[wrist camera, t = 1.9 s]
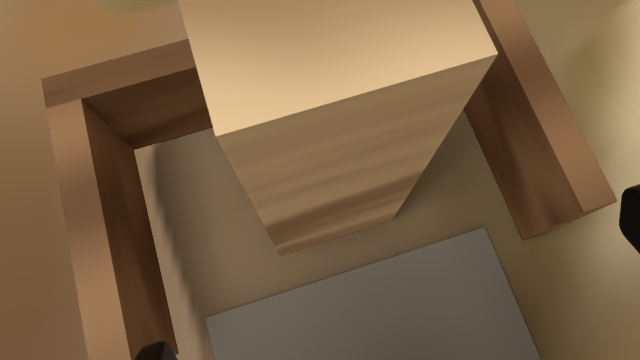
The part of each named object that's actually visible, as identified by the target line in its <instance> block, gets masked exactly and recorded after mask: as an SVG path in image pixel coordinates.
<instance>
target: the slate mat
mask: <svg viewBox="0 0 640 360" xmlns="http://www.w3.org/2000/svg"><path fill="white" fill-rule="evenodd" d="M205 320H206V325H207V329H208V333H209V337H210V341H211V345H212V349H213V354H214V358H215V360H541V358H540V355H539V353H538V351H537V348H536V346H535V344H534V341H533V339H532V337H531V334H530V332H529V330H528V327H527V325H526V323H525V320H524V318H523V316H522V313H521V311H520V309H519V306H518V304H517V302H516V299H515V297H514V295H513V292H512V290H511V288H510V285H509V283H508V281H507V278H506V276H505V274H504V271H503V269H502V267H501V264H500V262H499V260H498V257H497V255H496V253H495V250H494V248H493V246H492V243H491V241H490V239H489V236H488V234H487V232H486V229H485V227H483V228H480V229H477V230H474V231H471V232H468V233H464V234H461V235H458V236H455V237H452V238H449V239H446V240H443V241H440V242H437V243H434V244H431V245H428V246H425V247H421V248H418V249H415V250H412V251H409V252H406V253H403V254H400V255H397V256H394V257H391V258H388V259H385V260H382V261H379V262H375V263H372V264H369V265H366V266H363V267H360V268H357V269H354V270H351V271H348V272H345V273H342V274H339V275H336V276H332V277H329V278H326V279H323V280H320V281H317V282H314V283H311V284H308V285H305V286H302V287H299V288H296V289H293V290H290V291H286V292H283V293H280V294H277V295H274V296H271V297H268V298H265V299H262V300H259V301H256V302H253V303H250V304H247V305H243V306H240V307H237V308H234V309H231V310H228V311H225V312H222V313H219V314H216V315H213V316H210V317H207V318H205Z"/></svg>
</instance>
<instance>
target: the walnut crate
mask: <svg viewBox="0 0 640 360" xmlns="http://www.w3.org/2000/svg"><path fill="white" fill-rule="evenodd" d="M472 1H473V3H474V5H475V7H476V9H477V11H478V13H479V15H480V17H481V19H482V22H483V24H484V26H485V28H486V30H487V32H488V34H489V36H490V38H491V40H492V42H493V44H494V46H495V48H496V50H497V52H498V55H497V57H496V58H495V60H494V61H493V63H492V64H491V66H490V68H489V69H488V71H487V72H486V74H485V75H484V77H483V78H482V80H481V82H480V83H479V85H478V86H477V88H476V89H475V91H474V93H473V94H472V96H471V97H470V99H469V100H468V102H467V104H466V105H465V107H464V110H465V112H466V114H467V116H468V119H469V121H470V123H471V125H472V128H473V130H474V132H475V134H476V136H477V139H478V141H479V143H480V145H481V148H482V150H483V152H484V154H485V157H486V159H487V161H488V163H489V165H490V168H491V170H492V172H493V174H494V177H495V179H496V181H497V183H498V186H499V188H500V190H501V192H502V194H503V197H504V199H505V201H506V203H507V206H508V208H509V210H510V212H511V215H512V217H513V219H514V221H515V223H516V226H517V228H518V230H519V232H520V235H521V237H522V239H523V240H524V239H527V238H530V237H533V236H536V235H539V234H542V233H545V232H548V231H551V230H553V229H555V228H558V227H560V226H562V225H564V224H567V223H569V222H571V221H573V220H576V219H578V218H580V217H583V216H585V215H587V214H589V213H592V212H594V211H596V210H599V209H601V208H603V207H605V206H608V205H610V204H612V203H614V202H617V199H616V197H615V195H614V193H613V191H612V189H611V187H610V186H609V184H608V182H607V180H606V178H605V176H604V174H603V172H602V170H601V168H600V166H599V164H598V162H597V160H596V159H595V157H594V155H593V153H592V151H591V149H590V147H589V145H588V143H587V141H586V139H585V137H584V135H583V133H582V132H581V130H580V128H579V126H578V124H577V122H576V120H575V118H574V116H573V114H572V112H571V110H570V108H569V107H568V105H567V103H566V101H565V99H564V97H563V95H562V93H561V91H560V89H559V87H558V85H557V83H556V81H555V80H554V78H553V76H552V74H551V72H550V70H549V68H548V66H547V64H546V62H545V60H544V58H543V56H542V54H541V53H540V51H539V49H538V47H537V45H536V43H535V41H534V39H533V37H532V35H531V33H530V31H529V29H528V27H527V26H526V24H525V22H524V20H523V18H522V16H521V14H520V12H519V10H518V8H517V6H516V4H515V2H514V0H472ZM41 80H42V86H43V92H44V98H45V104H46V110H47V116H48V122H49V127H50V134H51V139H52V146H53V151H54V158H55V164H56V169H57V176H58V181H59V187H60V193H61V199H62V205H63V211H64V217H65V223H66V229H67V235H68V241H69V247H70V253H71V259H72V264H73V271H74V277H75V283H76V288H77V294H78V300H79V306H80V312H81V318H82V324H83V330H84V336H85V342H86V348H87V354H88V360H134V359H135V357H136V356H137V354H138V353H139V351H140V350H141V349H142V348H143V347H144V346H146V345H150V344H153V343H156V342H159V341H162V340H163V341H166V342H167V343H168V344H169V345H170V347H171V348H172V350H173V352H174V354H175V355H176V354H178V349H177V344H176V340H175V335H174V331H173V326H172V321H171V317H170V313H169V308H168V303H167V299H166V294H165V290H164V285H163V281H162V276H161V272H160V268H159V262H158V258H157V253H156V249H155V244H154V240H153V235H152V231H151V226H150V222H149V217H148V213H147V208H146V204H145V199H144V194H143V190H142V185H141V181H140V177H139V172H138V167H137V163H136V159H135V154H134V150H135V149H139V148H142V147H145V146H149V145H152V144H156V143H159V142H163V141H166V140H170V139H173V138H176V137H180V136H183V135H187V134H190V133H194V132H197V131H201V130H204V129H207V128H211V127H213V125H212V122H211V118H210V114H209V111H208V107H207V104H206V100H205V96H204V93H203V89H202V86H201V82H200V78H199V75H198V71H197V67H196V64H195V60H194V57H193V53H192V49H191V46H190V42H189V39H186V40H182V41H178V42H175V43H172V44H168V45H164V46H160V47H157V48H153V49H150V50H146V51H142V52H138V53H135V54H131V55H127V56H124V57H120V58H117V59H113V60H109V61H105V62H102V63H98V64H94V65H91V66H87V67H84V68H80V69H76V70H72V71H69V72H65V73H61V74H58V75H54V76H50V77H47V78H43V79H41Z"/></svg>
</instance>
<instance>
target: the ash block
mask: <svg viewBox="0 0 640 360" xmlns="http://www.w3.org/2000/svg"><path fill="white" fill-rule="evenodd" d="M178 2H179V6H180V10H181V13H182V16H183V20H184V24H185V28H186V31H187V35H188V38H189V42H190V46H191V49H192V53H193V57H194V60H195V64H196V67H197V71H198V75H199V78H200V82H201V86H202V89H203V93H204V96H205V100H206V104H207V107H208V111H209V114H210V118H211V122H212V125H213V129H214V133H215V136H216V138H217V140H218V142H219V144H220V146H221V147H222V149H223V151H224V153H225V155H226V157H227V158H228V160H229V162H230V164H231V166H232V168H233V169H234V171H235V173H236V175H237V177H238V179H239V180H240V182H241V184H242V186H243V188H244V190H245V191H246V193H247V195H248V197H249V199H250V201H251V203H252V204H253V206H254V208H255V210H256V212H257V214H258V215H259V217H260V219H261V221H262V223H263V225H264V226H265V228H266V230H267V232H268V234H269V236H270V237H271V239H272V241H273V243H274V245H275V247H276V248H277V250H278V252H279V254H280V255H283V254H286V253H289V252H292V251H295V250H299V249H302V248H305V247H308V246H311V245H314V244H317V243H321V242H324V241H327V240H330V239H333V238H336V237H339V236H343V235H346V234H349V233H352V232H355V231H358V230H361V229H364V228H368V227H371V226H374V225H377V224H380V223H383V222H386V221H390V220H393V218H394V217H395V215H396V213H397V212H398V210H399V209H400V207H401V206H402V204H403V202H404V201H405V199H406V198H407V196H408V195H409V193H410V192H411V190H412V188H413V187H414V185H415V184H416V182H417V181H418V179H419V177H420V176H421V174H422V173H423V171H424V170H425V168H426V166H427V165H428V163H429V162H430V160H431V159H432V157H433V155H434V154H435V152H436V151H437V149H438V148H439V146H440V144H441V143H442V141H443V140H444V138H445V137H446V135H447V133H448V132H449V130H450V129H451V127H452V126H453V124H454V122H455V121H456V119H457V118H458V116H459V115H460V113H461V111H462V110H463V108H464V107H465V105H466V104H467V102H468V100H469V99H470V97H471V96H472V94H473V93H474V91H475V89H476V88H477V86H478V85H479V83H480V82H481V80H482V78H483V77H484V75H485V74H486V72H487V71H488V69H489V68H490V66H491V64H492V63H493V61H494V60H495V58H496V57H497V55H498V52H497V50H496V48H495V46H494V44H493V42H492V40H491V38H490V36H489V34H488V32H487V30H486V28H485V26H484V24H483V22H482V19H481V17H480V15H479V13H478V11H477V9H476V7H475V5H474V3H473V1H472V0H178Z"/></svg>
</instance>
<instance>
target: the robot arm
mask: <svg viewBox="0 0 640 360" xmlns="http://www.w3.org/2000/svg"><path fill="white" fill-rule="evenodd" d="M619 225H620V229H621V232H622V233H623V235H624V236H625V238H626V239H627V240H628V241H629V242H630V243H631V244H632V246H633V247H634V248H635V249H636V250H637V251H638V252H639V253H640V184H639V185H636V186H633V187H630V188H627V189H626V190H625V191H624V192H623V194H622V199H621V209H620V219H619ZM134 360H177V358H176V356H175V354H174V352H173V350H172V348H171V347H170V345H169V344H168V343H167V342H166V341H163V340H162V341H159V342H156V343H153V344H150V345H146V346H144V347H143V348H142V349H141V350H140V351H139V353H138V354H137V356H136V357H135V359H134Z"/></svg>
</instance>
